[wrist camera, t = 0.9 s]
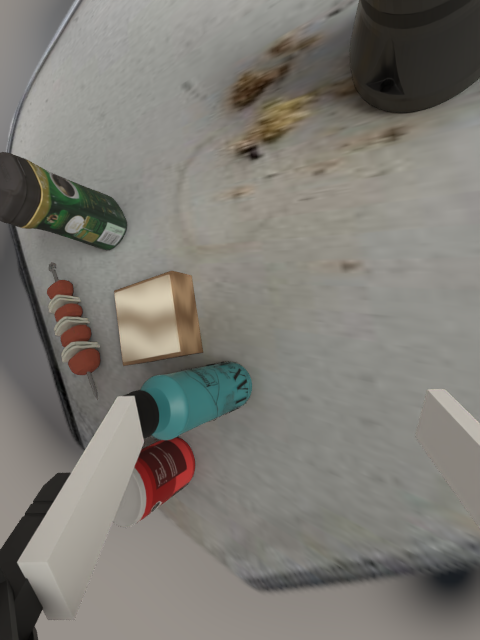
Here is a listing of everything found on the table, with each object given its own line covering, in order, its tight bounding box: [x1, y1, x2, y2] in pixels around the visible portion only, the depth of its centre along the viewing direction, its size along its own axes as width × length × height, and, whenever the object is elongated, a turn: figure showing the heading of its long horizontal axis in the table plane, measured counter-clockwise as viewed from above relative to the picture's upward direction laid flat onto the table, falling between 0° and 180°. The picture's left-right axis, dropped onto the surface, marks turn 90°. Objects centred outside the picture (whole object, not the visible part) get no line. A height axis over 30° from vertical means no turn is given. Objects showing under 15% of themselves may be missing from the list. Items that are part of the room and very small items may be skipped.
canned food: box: [113, 437, 195, 528], centre depth 42 cm, size 8×8×11 cm
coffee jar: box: [0, 152, 127, 250], centre depth 47 cm, size 10×8×19 cm
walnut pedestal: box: [114, 271, 203, 366], centre depth 47 cm, size 12×12×5 cm
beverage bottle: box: [114, 361, 252, 440], centre depth 34 cm, size 6×7×20 cm
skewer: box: [47, 263, 100, 400], centre depth 57 cm, size 5×5×30 cm
